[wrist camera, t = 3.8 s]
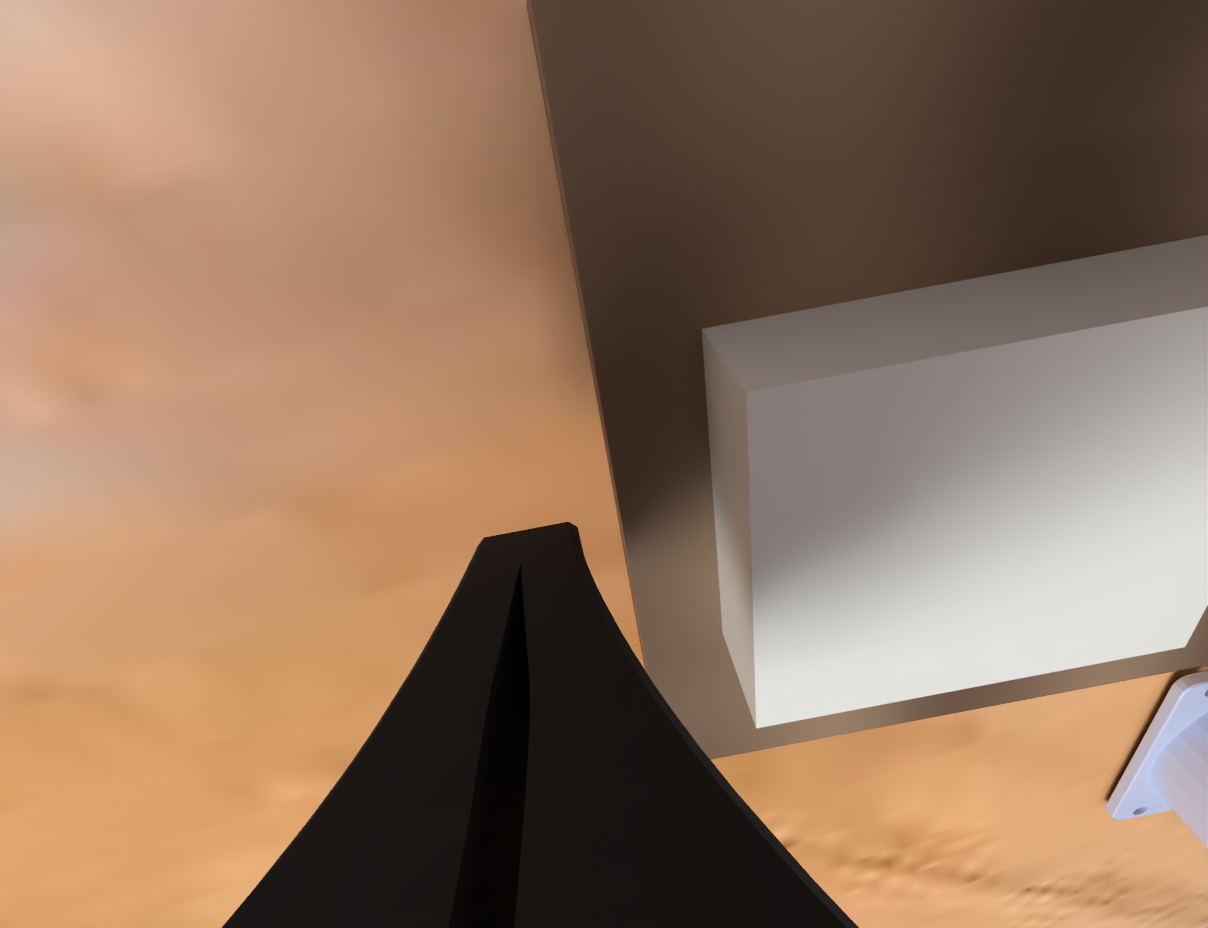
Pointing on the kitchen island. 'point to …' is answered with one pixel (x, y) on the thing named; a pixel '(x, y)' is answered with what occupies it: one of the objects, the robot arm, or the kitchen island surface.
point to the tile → (962, 481)
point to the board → (835, 231)
